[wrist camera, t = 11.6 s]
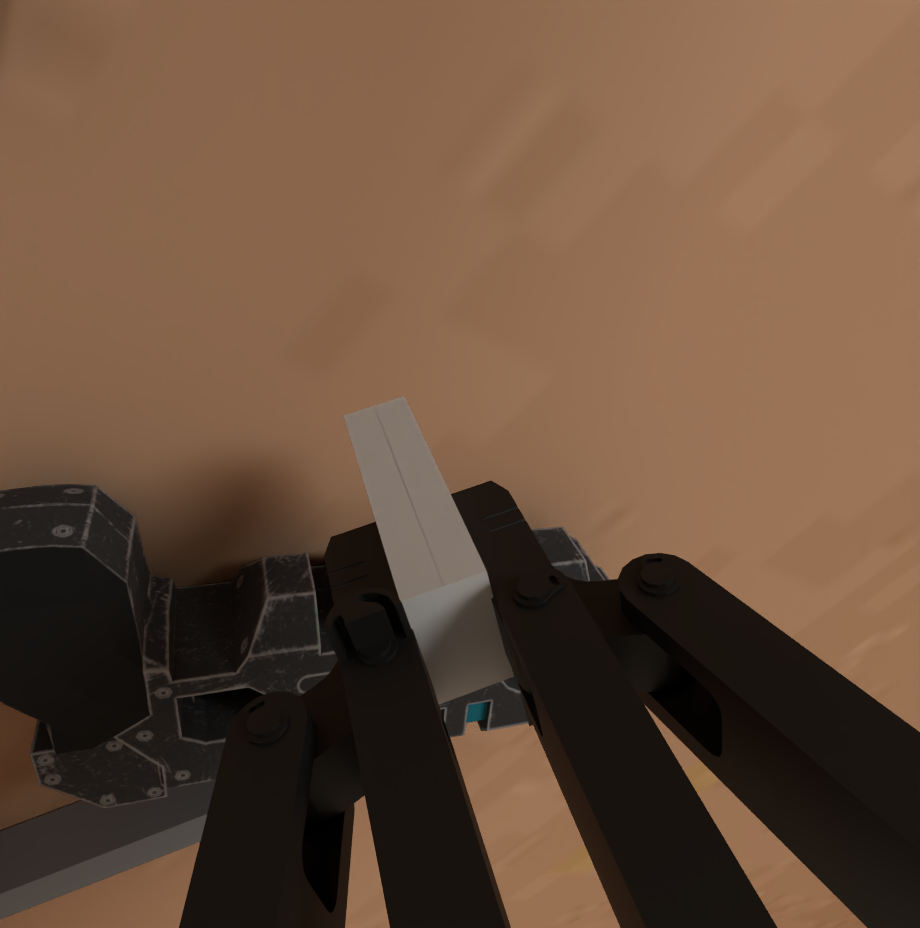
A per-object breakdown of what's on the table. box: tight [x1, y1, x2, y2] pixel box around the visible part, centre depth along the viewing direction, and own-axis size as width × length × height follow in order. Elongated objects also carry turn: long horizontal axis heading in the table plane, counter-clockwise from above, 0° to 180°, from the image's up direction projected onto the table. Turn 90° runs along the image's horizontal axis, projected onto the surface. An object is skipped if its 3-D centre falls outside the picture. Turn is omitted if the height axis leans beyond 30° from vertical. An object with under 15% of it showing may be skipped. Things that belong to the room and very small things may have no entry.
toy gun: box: [0, 484, 610, 808], centre depth 23 cm, size 4×19×10 cm
